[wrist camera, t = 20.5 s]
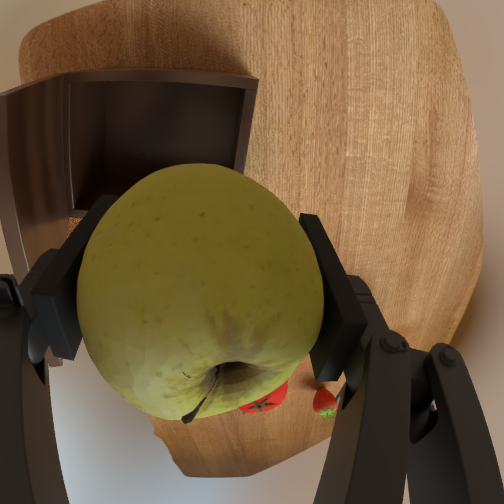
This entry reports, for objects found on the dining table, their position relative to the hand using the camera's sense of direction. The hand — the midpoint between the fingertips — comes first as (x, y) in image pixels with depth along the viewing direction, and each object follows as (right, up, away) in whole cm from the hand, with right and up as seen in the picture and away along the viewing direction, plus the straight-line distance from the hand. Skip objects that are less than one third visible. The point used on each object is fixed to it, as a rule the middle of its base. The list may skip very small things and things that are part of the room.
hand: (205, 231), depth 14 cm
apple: (0, 0, 0) cm, 1 cm away
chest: (-8, +14, +23) cm, 28 cm away
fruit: (+18, -32, +54) cm, 65 cm away
